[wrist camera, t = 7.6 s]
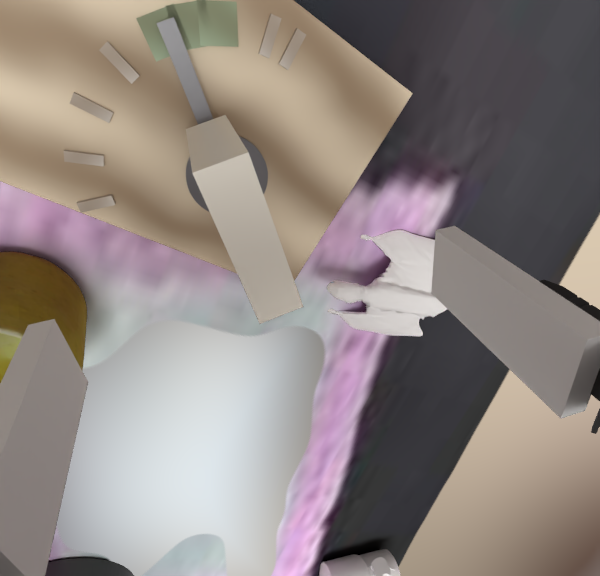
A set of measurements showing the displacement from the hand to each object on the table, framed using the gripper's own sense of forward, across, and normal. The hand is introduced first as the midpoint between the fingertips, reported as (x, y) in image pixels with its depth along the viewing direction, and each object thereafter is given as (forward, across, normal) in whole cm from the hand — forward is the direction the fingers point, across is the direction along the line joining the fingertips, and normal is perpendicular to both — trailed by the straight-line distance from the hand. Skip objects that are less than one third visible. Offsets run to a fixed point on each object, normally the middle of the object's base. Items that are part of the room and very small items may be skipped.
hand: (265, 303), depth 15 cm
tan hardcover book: (+17, -1, +4) cm, 17 cm away
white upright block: (+14, 0, +3) cm, 14 cm away
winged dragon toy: (+17, +14, -13) cm, 26 cm away
